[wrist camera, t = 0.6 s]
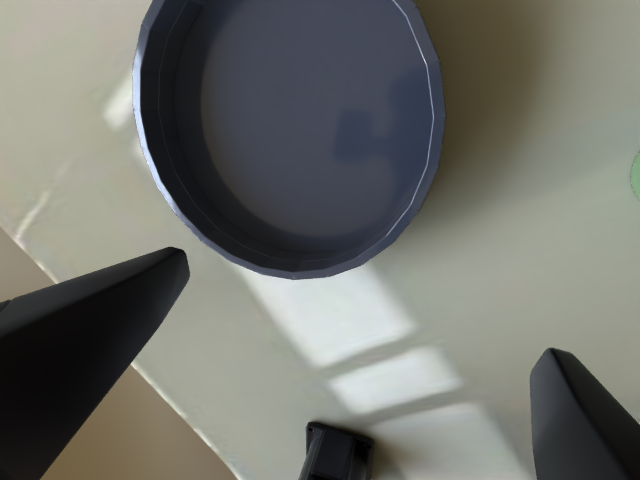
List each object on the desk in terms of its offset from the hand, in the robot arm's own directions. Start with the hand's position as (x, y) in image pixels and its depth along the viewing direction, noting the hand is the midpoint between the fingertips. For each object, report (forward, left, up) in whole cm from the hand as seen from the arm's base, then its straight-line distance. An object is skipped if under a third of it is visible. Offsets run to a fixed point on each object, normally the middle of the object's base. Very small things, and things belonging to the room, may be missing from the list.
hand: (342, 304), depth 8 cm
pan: (+3, +7, -14) cm, 16 cm away
